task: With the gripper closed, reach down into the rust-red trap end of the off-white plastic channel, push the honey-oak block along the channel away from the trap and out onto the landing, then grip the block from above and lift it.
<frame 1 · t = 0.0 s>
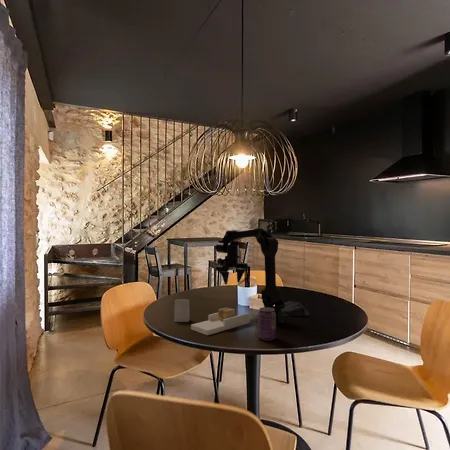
hand: (232, 283, 181), 15 cm above the table, tool pointing down, fingers open, 9 cm apart
grey box: (181, 321, 163), on the table
dark slate chunk: (292, 312, 182), on the table
beverage can: (266, 339, 138), on the table
oak block: (226, 320, 157), point 2 cm above the table, touching trap channel
trap channel: (226, 324, 157), on the table
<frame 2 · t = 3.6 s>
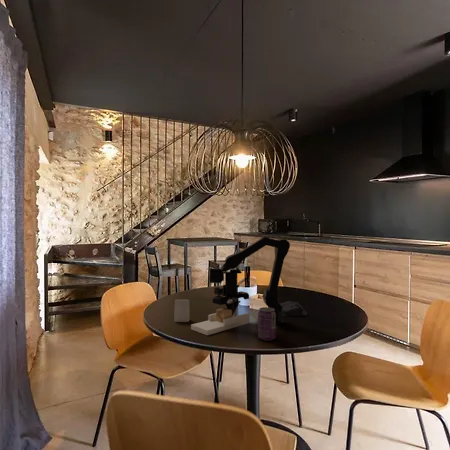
hand: (231, 316, 159), 3 cm above the table, tool pointing down, fingers closed
oak block: (224, 320, 156), point 2 cm above the table, touching gripper
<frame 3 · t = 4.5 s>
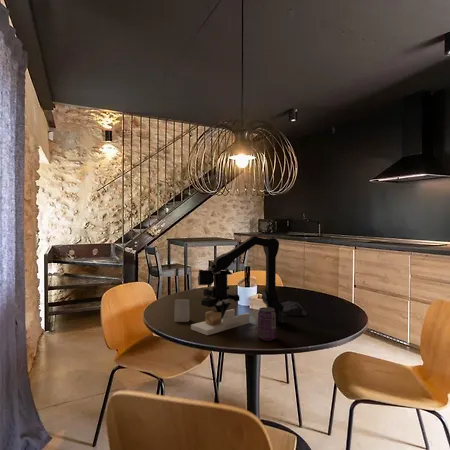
hand: (220, 318, 155), 3 cm above the table, tool pointing down, fingers closed
oak block: (213, 323, 152), point 2 cm above the table, touching gripper
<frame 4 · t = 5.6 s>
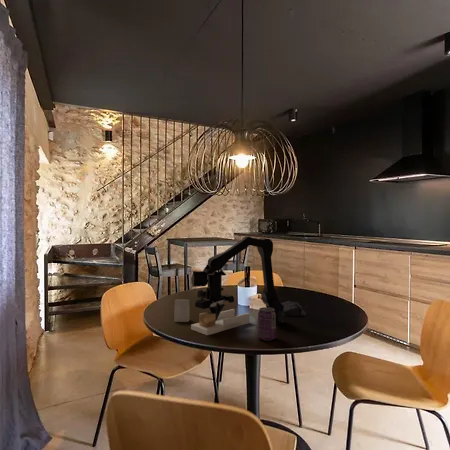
hand: (215, 320, 152), 3 cm above the table, tool pointing down, fingers closed
oak block: (207, 325, 149), point 2 cm above the table, touching gripper, trap channel
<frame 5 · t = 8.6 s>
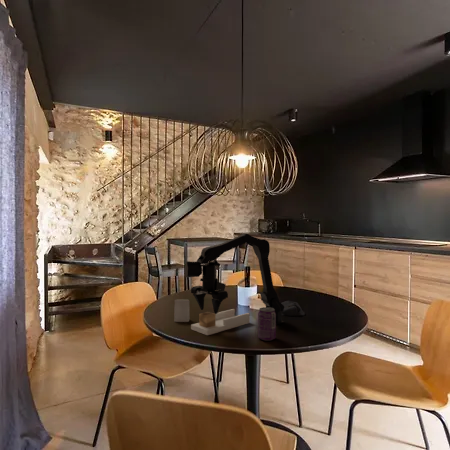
hand: (208, 311, 150), 8 cm above the table, tool pointing down, fingers open, 9 cm apart
oak block: (207, 325, 149), point 2 cm above the table, touching trap channel
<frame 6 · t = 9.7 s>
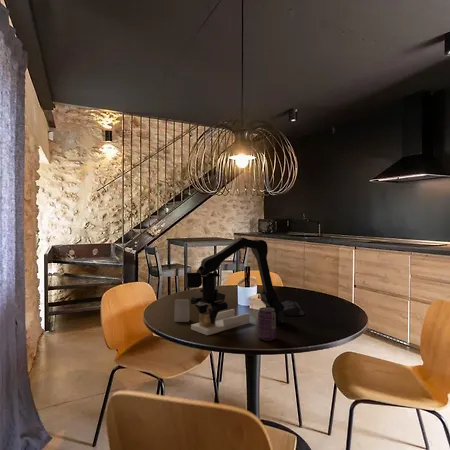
hand: (208, 322, 150), 3 cm above the table, tool pointing down, fingers closed on oak block, 5 cm apart
oak block: (207, 325, 149), point 2 cm above the table, touching gripper, trap channel
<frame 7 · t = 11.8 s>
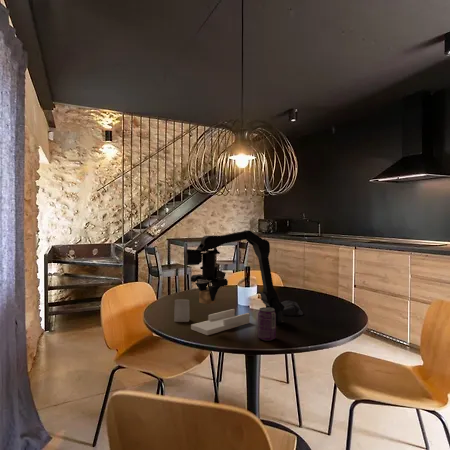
hand: (208, 300, 150), 13 cm above the table, tool pointing down, fingers closed on oak block, 5 cm apart
oak block: (207, 302, 149), point 12 cm above the table, touching gripper
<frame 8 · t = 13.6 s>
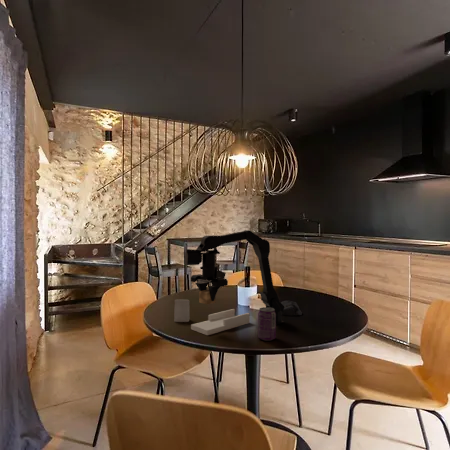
hand: (208, 300, 150), 13 cm above the table, tool pointing down, fingers closed on oak block, 5 cm apart
oak block: (207, 302, 149), point 12 cm above the table, touching gripper
at the end: the gripper is holding oak block; oak block inside the target area (0.8 cm from its centre), point 11.9 cm above the table; oak block moved 15.0 cm from its start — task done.
